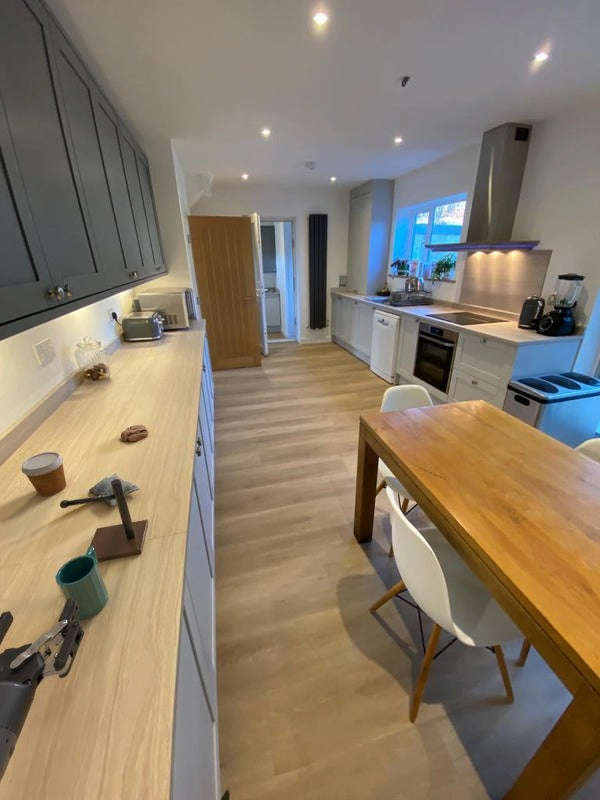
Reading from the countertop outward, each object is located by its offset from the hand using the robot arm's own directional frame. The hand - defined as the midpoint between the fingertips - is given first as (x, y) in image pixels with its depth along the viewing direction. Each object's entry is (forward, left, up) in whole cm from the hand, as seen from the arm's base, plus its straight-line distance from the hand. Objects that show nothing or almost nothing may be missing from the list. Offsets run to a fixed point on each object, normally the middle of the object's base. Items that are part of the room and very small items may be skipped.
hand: (41, 607), depth 50 cm
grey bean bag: (+26, +38, -15) cm, 48 cm away
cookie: (+47, +67, -16) cm, 83 cm away
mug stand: (+17, +21, -15) cm, 31 cm away
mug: (+8, +10, -15) cm, 20 cm away
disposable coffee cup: (+15, +53, -16) cm, 57 cm away
